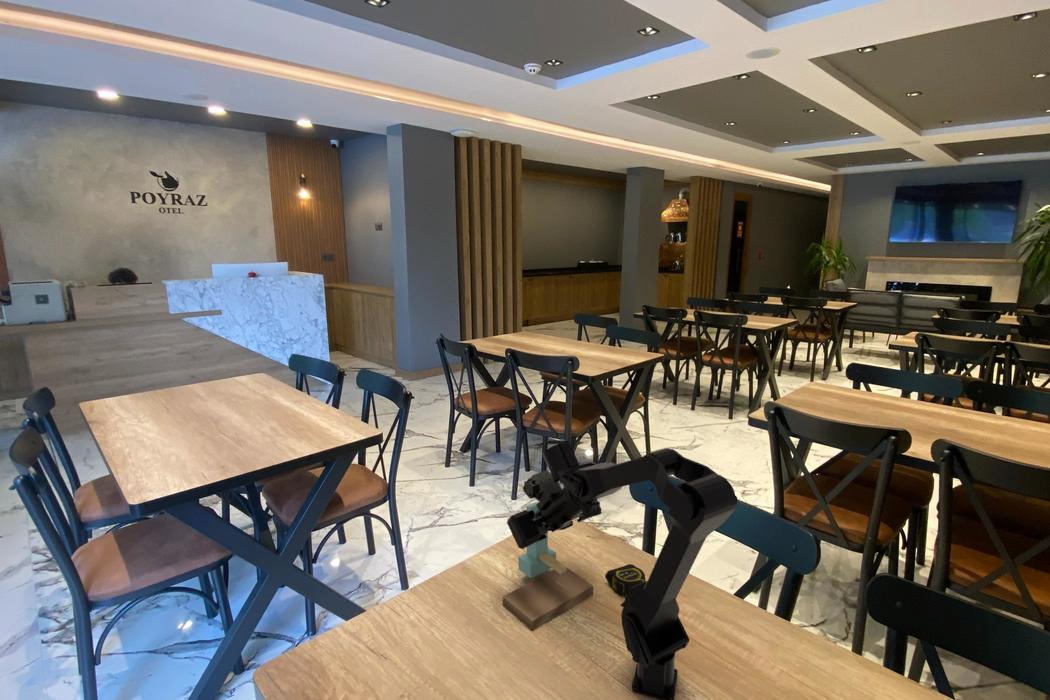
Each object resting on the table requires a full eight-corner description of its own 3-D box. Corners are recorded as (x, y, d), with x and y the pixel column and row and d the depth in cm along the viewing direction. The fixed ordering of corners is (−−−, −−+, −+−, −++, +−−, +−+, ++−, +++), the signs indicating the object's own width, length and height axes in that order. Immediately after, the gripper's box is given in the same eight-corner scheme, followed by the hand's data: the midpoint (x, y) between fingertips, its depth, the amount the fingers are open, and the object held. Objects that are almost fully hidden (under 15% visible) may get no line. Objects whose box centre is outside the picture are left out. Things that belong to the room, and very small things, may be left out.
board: (532, 630, 98) (532, 620, 97) (503, 605, 104) (502, 595, 104) (593, 594, 107) (593, 585, 107) (562, 573, 114) (562, 564, 114)
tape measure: (632, 575, 114) (632, 559, 113) (651, 594, 108) (652, 577, 107) (604, 583, 111) (605, 567, 110) (623, 603, 105) (623, 586, 104)
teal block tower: (550, 593, 104) (550, 527, 101) (518, 569, 112) (517, 508, 109) (575, 578, 109) (576, 515, 106) (543, 557, 116) (543, 497, 113)
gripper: (583, 453, 110) (548, 484, 121) (512, 478, 99) (480, 510, 110) (611, 502, 106) (572, 530, 117) (539, 534, 94) (503, 562, 105)
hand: (532, 531), depth 112 cm, fingers closed on teal block tower, 3 cm apart
